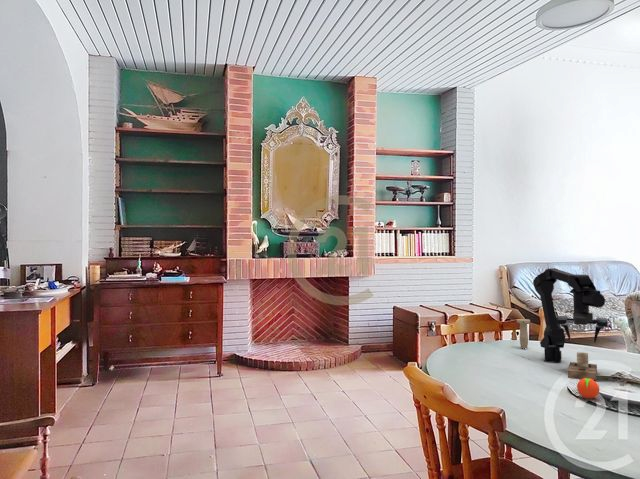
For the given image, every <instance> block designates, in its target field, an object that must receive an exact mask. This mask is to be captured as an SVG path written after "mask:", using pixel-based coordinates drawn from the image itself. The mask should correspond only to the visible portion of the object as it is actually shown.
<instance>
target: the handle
mask: <svg viewBox="0 0 640 479" xmlns="http://www.w3.org/2000/svg"><path fill="white" fill-rule="evenodd" d="M516 323H518V324H519V345H520V348H521V347H522V348H527V349H529V348H528V345H529V334H528V324H530V323H531V320H530V319H529V318H528V319H526V318H517V319H516Z"/></svg>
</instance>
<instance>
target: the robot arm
mask: <svg viewBox="0 0 640 479" xmlns="http://www.w3.org/2000/svg"><path fill="white" fill-rule="evenodd" d="M557 281H560V282H564V283H566V284H567V285H568V286H569V287H570V288H572V289H571V290H570V291H569V293H570V294H572V296H573V297H572V300H573V302H572V303H573V304H572V305H573V313H572V314H573V315H572V316H573V317H572V318H570V317H569V318H568V315H558V316H557V315H556V310H555V305H554V300H553V296H552V294H553V291H554V289H555V287H554V286H555V283H557ZM532 285H533V287H534V290H535V291H536V293H537V295H538V296H540V301H541V306H542V312H543V316H544V317H543V318H544V321H545V323H544V324H545V328H544V331H543V338H542V339H541V340H540V342H539V345H540V348H543V349H544V359H543V361H544V362H549V363H558V364H559V363H561V361H562V359H563V357H562V350H561V349H564V346H565V343H566V336H567V338H568V341H569V342H571V340H572V339H571V338H572V337H571V331H570V324H569V323H571V324H574V325H583V326H587V325H588V324H591V325H595V330H594V337H593V340H594V341H593V342H594V343H595V344H596V341H597V338H598V336H599V334H600V331H602V329H605V328H607V327H609V325H608V324H609V322H608V319H607V318H606V317H596V319H594V318H593V317H594V315H593V312H590V307H592V308H599V309H600V308H602V307H603V306H604V305H605V303H606V299H605V297H604V294H602V293H601V290H598V289H597V288H596V286H595V285H594V282H593V281H592V278H590V275H588V274H577V273H576V274H574V273H570V272H567V271H564V270H561V269H558V268H557V267H556V268H555V267H554V268H553V267H552V268H551V267H550V268H547V269H545V270H544V271H543V272H541V273H540V274H537V276H536V277H534V279H533V281H532ZM565 333H566V335H565Z"/></svg>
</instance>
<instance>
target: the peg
mask: <svg viewBox="0 0 640 479" xmlns="http://www.w3.org/2000/svg"><path fill="white" fill-rule="evenodd" d="M576 362H577V366H578V367H587V368H588V364H589V353H588V352H580V351H578V352H576Z"/></svg>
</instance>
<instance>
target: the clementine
mask: <svg viewBox="0 0 640 479" xmlns="http://www.w3.org/2000/svg"><path fill="white" fill-rule="evenodd" d="M576 389H577V392H578V393H579V394H580V396H582V397H583V398H585V399H594V398H597V396H598V395H599V393H600V386H599V383H597V382H596V381H594V380H593V379H590V378H583V379H579V381H578V382H577V385H576Z"/></svg>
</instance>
